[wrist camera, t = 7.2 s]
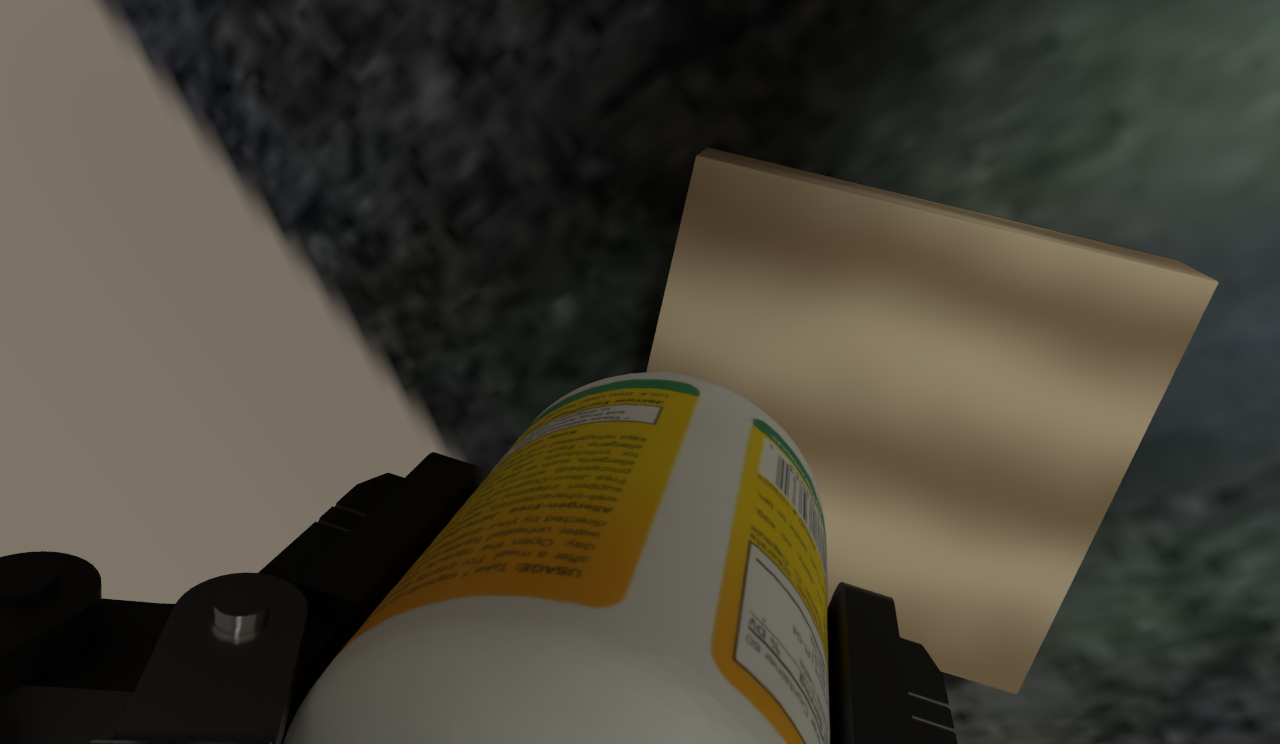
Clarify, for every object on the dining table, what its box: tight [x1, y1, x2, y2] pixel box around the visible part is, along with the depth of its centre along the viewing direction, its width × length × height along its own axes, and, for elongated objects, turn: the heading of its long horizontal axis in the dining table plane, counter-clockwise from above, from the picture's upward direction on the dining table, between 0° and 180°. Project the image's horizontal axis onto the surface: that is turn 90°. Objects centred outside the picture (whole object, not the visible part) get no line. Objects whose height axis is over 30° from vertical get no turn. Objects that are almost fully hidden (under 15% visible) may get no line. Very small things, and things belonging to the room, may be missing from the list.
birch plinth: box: [647, 148, 1219, 694], centre depth 30 cm, size 16×16×3 cm
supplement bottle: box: [283, 372, 830, 744], centre depth 10 cm, size 5×5×10 cm
